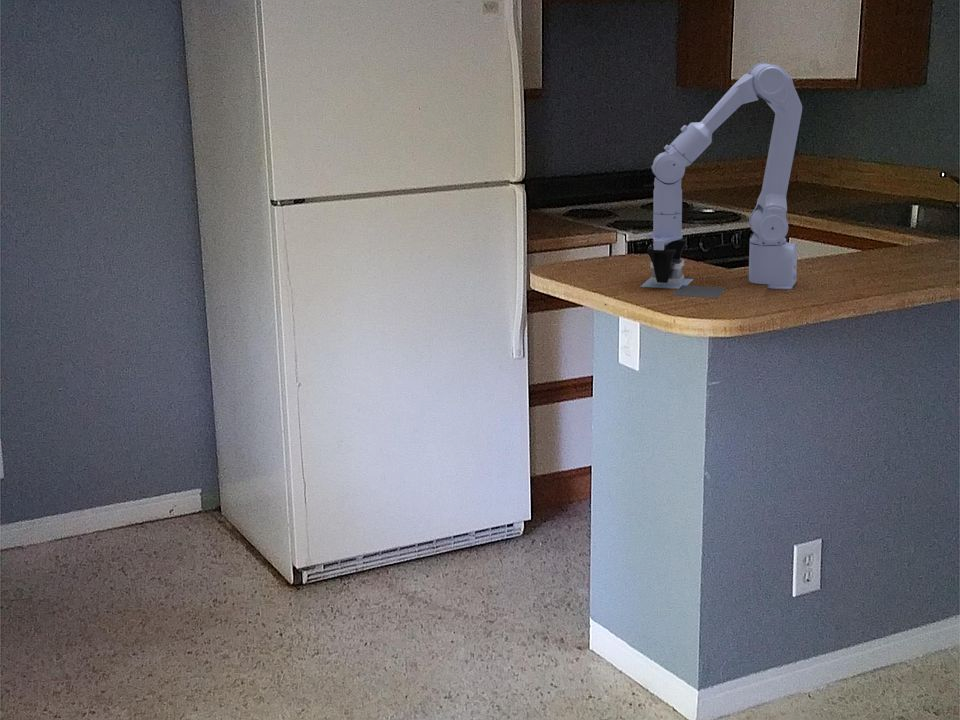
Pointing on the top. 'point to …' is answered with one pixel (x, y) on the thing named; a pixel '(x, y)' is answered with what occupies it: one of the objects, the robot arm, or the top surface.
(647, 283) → the stand
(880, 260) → the top surface
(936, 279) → the top surface
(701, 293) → the stand
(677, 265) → the block
